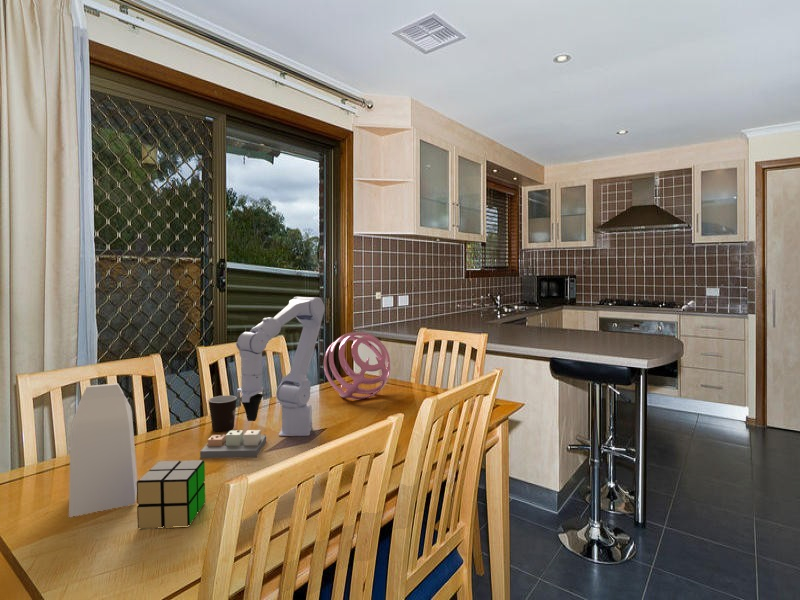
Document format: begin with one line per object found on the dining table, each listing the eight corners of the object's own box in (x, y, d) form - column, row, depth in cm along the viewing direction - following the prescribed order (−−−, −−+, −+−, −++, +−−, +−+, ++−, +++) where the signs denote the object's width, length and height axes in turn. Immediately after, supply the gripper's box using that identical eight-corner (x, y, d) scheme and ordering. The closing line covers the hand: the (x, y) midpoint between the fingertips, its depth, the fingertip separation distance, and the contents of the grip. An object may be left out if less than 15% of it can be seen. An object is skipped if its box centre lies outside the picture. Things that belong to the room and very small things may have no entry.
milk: (68, 517, 95) (64, 394, 94) (77, 493, 106) (74, 382, 104) (135, 504, 101) (132, 388, 99) (137, 483, 111) (135, 377, 110)
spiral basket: (315, 344, 202) (338, 314, 183) (372, 355, 214) (400, 328, 195) (311, 405, 187) (337, 379, 167) (373, 413, 199) (404, 389, 179)
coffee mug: (226, 435, 144) (225, 403, 144) (203, 432, 147) (202, 401, 146) (247, 423, 155) (247, 394, 155) (226, 421, 158) (225, 392, 157)
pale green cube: (243, 441, 134) (243, 429, 134) (239, 446, 131) (239, 434, 130) (229, 441, 134) (229, 429, 134) (226, 446, 130) (225, 434, 130)
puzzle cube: (159, 504, 101) (158, 460, 101) (205, 503, 102) (205, 459, 101) (136, 530, 91) (135, 481, 91) (189, 528, 92) (188, 479, 91)
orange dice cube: (225, 446, 134) (225, 434, 134) (221, 451, 130) (221, 438, 130) (212, 446, 134) (212, 434, 134) (208, 451, 130) (207, 438, 130)
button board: (266, 441, 139) (266, 435, 139) (256, 457, 127) (256, 450, 127) (214, 442, 138) (214, 435, 138) (200, 458, 126) (200, 451, 126)
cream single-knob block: (260, 441, 135) (260, 429, 135) (257, 446, 131) (257, 433, 131) (247, 441, 135) (247, 429, 134) (243, 446, 131) (243, 434, 131)
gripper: (244, 368, 139) (244, 412, 139) (229, 379, 124) (230, 428, 125) (268, 368, 139) (268, 412, 140) (256, 379, 125) (256, 428, 125)
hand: (252, 420), depth 132 cm, fingers closed
